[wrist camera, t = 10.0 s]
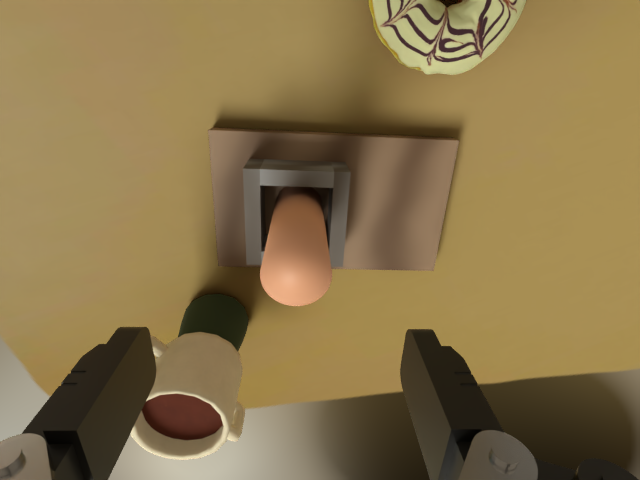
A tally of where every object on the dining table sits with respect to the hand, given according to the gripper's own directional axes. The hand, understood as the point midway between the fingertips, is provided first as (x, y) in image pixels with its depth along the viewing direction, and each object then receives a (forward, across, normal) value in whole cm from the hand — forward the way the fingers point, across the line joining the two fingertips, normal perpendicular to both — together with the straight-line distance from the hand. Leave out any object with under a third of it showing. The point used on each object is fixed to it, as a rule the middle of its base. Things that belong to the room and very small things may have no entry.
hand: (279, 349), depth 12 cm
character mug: (+22, +8, +15) cm, 28 cm away
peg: (+21, 0, +2) cm, 21 cm away
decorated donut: (+23, -10, -13) cm, 28 cm away
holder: (+22, -3, +2) cm, 23 cm away
